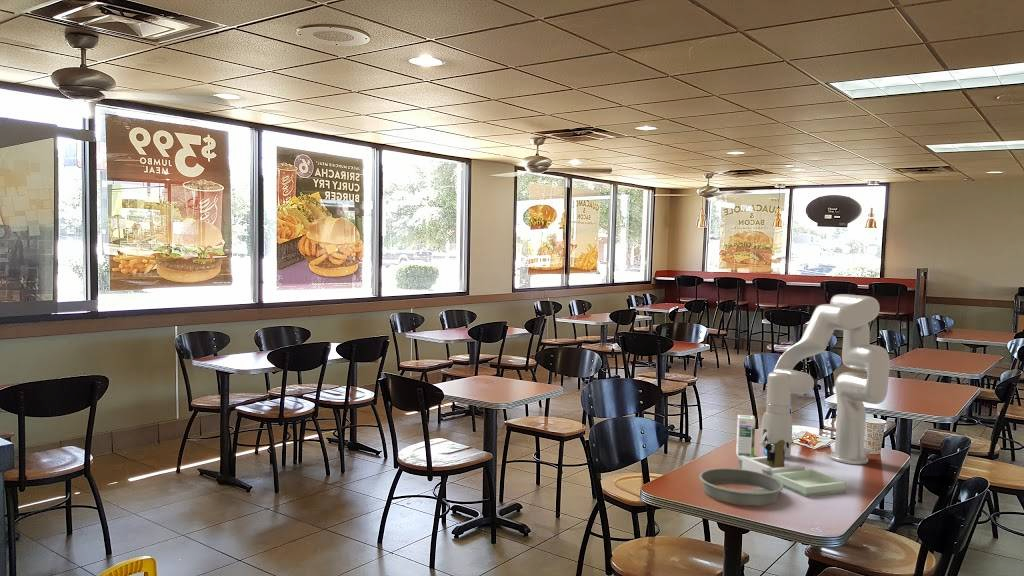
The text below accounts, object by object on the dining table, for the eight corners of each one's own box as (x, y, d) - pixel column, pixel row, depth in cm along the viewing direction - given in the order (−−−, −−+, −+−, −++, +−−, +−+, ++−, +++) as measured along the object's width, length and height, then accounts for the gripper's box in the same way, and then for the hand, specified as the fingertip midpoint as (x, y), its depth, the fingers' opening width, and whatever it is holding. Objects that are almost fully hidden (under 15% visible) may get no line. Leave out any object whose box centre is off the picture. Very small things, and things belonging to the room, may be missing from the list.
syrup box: (737, 457, 263) (739, 417, 262) (735, 452, 268) (737, 413, 268) (753, 458, 261) (755, 418, 261) (752, 454, 267) (754, 415, 266)
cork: (776, 472, 243) (777, 439, 243) (762, 467, 249) (763, 435, 248) (788, 470, 246) (790, 438, 246) (774, 465, 252) (776, 433, 251)
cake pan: (801, 501, 218) (802, 487, 218) (738, 513, 207) (739, 497, 207) (741, 477, 240) (742, 464, 240) (682, 486, 229) (682, 472, 229)
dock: (774, 463, 256) (775, 452, 256) (804, 475, 243) (805, 463, 243) (737, 467, 250) (738, 455, 250) (766, 479, 237) (766, 467, 237)
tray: (811, 478, 241) (811, 469, 240) (845, 491, 228) (845, 482, 227) (772, 482, 235) (773, 473, 234) (805, 497, 222) (805, 487, 221)
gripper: (789, 405, 253) (786, 457, 254) (750, 408, 247) (748, 461, 248) (805, 409, 246) (802, 463, 247) (766, 413, 240) (763, 468, 241)
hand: (775, 462), depth 247 cm, fingers closed on cork, 3 cm apart
